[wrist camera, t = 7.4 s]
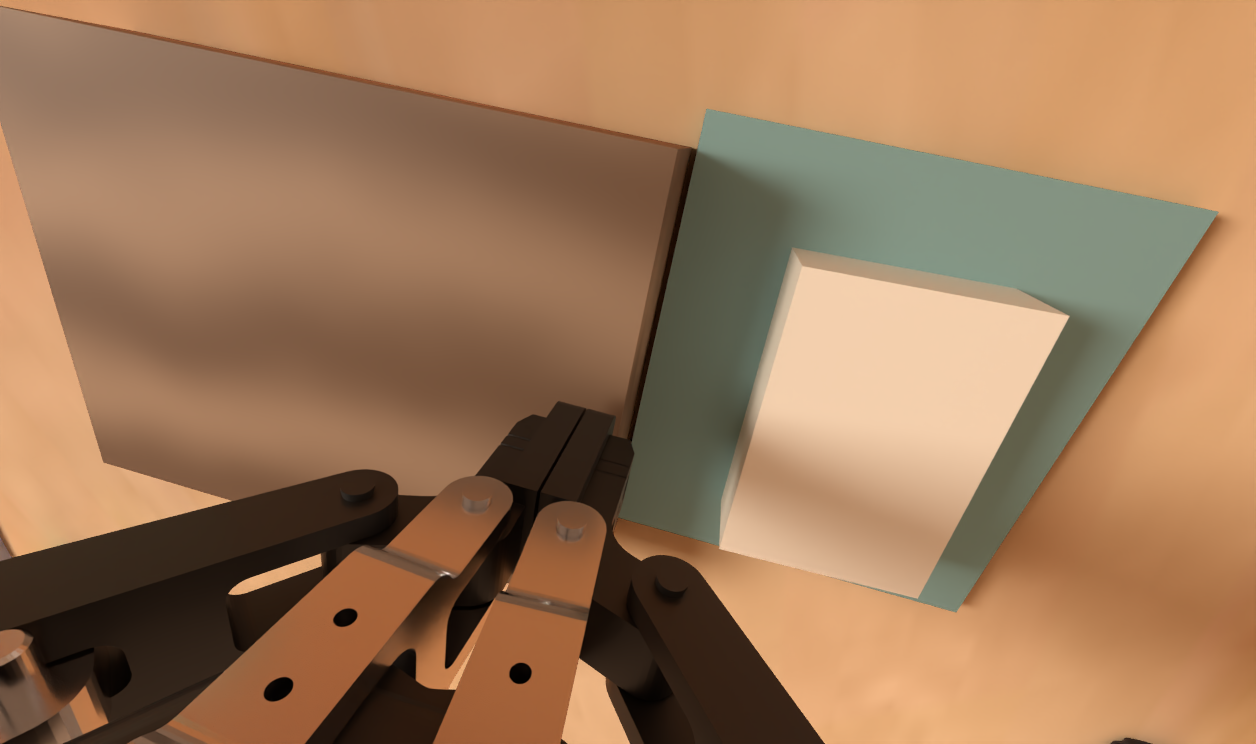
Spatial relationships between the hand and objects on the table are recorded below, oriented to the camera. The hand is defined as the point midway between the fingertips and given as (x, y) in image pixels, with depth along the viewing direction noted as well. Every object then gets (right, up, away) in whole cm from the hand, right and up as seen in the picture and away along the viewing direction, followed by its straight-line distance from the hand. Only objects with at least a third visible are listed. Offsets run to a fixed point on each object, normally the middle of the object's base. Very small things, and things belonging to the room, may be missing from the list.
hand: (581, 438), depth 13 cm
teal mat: (+8, +1, +3) cm, 9 cm away
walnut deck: (-7, +4, +5) cm, 10 cm away
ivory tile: (+8, 0, +1) cm, 8 cm away
